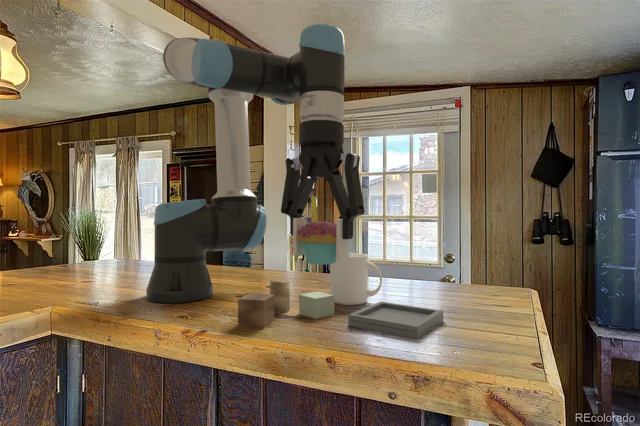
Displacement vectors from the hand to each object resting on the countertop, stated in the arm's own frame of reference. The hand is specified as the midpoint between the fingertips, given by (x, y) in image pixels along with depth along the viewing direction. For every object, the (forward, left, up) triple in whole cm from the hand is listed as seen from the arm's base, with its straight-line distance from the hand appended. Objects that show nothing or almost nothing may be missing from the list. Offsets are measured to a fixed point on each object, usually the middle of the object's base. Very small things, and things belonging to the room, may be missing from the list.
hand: (320, 256), depth 67 cm
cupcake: (0, 0, -1) cm, 1 cm away
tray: (+8, +13, -13) cm, 20 cm away
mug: (-7, +24, -13) cm, 28 cm away
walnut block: (-13, -2, -13) cm, 18 cm away
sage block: (-8, +10, -13) cm, 18 cm away
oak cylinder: (-16, +8, -13) cm, 22 cm away
